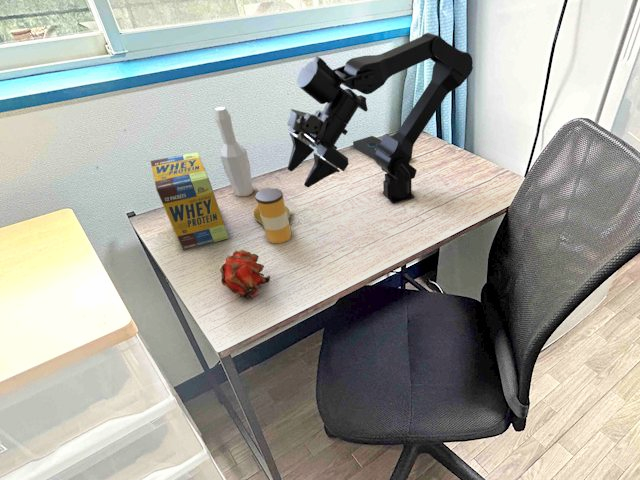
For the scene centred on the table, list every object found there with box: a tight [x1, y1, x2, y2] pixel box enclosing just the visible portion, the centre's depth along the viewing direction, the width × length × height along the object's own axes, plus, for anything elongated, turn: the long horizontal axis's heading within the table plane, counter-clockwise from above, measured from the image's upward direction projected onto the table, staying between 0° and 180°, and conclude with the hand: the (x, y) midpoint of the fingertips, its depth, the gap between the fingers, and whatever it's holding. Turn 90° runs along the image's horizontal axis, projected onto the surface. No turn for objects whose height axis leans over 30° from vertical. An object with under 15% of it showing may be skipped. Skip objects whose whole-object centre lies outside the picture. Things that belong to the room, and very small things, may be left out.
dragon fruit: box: [219, 249, 271, 300], centre depth 85 cm, size 8×8×12 cm
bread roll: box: [253, 204, 291, 226], centre depth 106 cm, size 8×9×4 cm
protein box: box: [150, 152, 229, 251], centre depth 99 cm, size 10×15×16 cm
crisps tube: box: [255, 187, 292, 244], centre depth 97 cm, size 6×6×11 cm
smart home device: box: [352, 135, 382, 161], centre depth 133 cm, size 8×2×20 cm
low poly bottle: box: [214, 106, 254, 197], centre depth 110 cm, size 6×6×22 cm
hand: (297, 178), depth 95 cm, fingers open, 9 cm apart
